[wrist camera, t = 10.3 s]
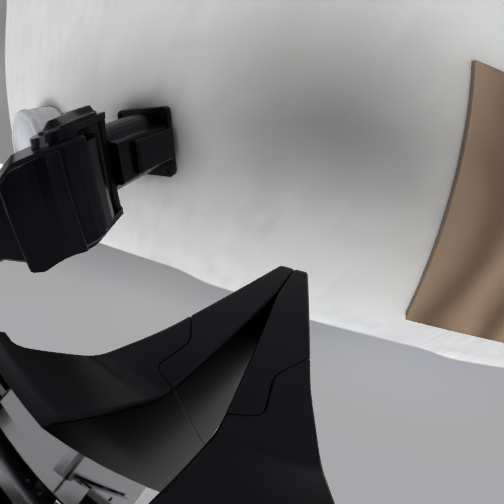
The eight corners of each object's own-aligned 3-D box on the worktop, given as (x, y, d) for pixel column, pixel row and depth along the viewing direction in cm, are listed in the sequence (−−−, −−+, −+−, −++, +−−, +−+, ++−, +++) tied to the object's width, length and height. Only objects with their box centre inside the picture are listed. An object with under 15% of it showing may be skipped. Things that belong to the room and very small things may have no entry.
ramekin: (33, 119, 31) (6, 131, 27) (59, 84, 25) (24, 95, 21) (56, 181, 36) (29, 196, 32) (85, 159, 30) (52, 176, 26)
